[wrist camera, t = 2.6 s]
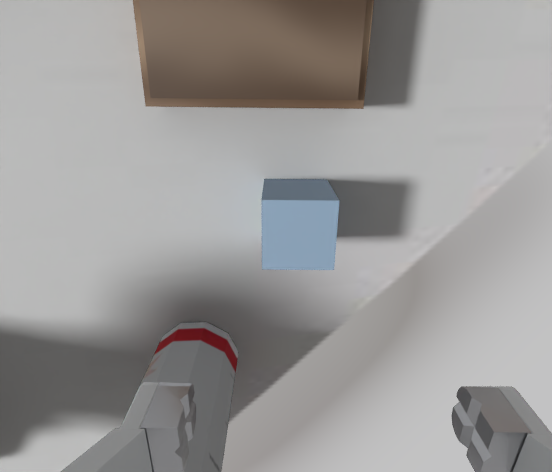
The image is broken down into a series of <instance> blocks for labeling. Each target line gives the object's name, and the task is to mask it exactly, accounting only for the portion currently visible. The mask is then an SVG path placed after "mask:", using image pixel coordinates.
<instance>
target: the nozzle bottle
mask: <svg viewBox="0 0 552 472" xmlns="http://www.w3.org/2000/svg"><path fill="white" fill-rule="evenodd" d="M237 359H238V351H237V349H236V347H235V345H234V343H233V341H232V339H231V337H230V335H229V334H228V333H227V332H225V331H223V330H221V329H219V328H217V327H215V326H213V325H211V324H209V323H207V322H193V323H180V324H179V325H177V326H176V327H175V328H173V329H172V330H171V331H169V332H168V333H166V334H165V335H164V336H163V337H162V339H161V341H160V343H159V345H158V347H157V350H156V352H155V354H154V356H153V358H152V360H151V362H150V365H149V367H148V369H147V371H146V373H145V375H144V377H143V380H142V382H141V384H140V386H141V385H142V383H143V382H157V383H160V382H166V383H192V384H193V385H194V392H195V393H194V397H193V402H194V403H195V404H196V424H195V430H194V434H193V438H192V439H191V440H190V441H189V442H188V445H189V455H188V459H187V463H186V467H185V470H184V472H221V469H222V463H223V456H224V449H225V442H226V435H227V429H228V422H229V415H230V408H231V401H232V394H233V387H234V380H235V373H236V366H237ZM140 386H139V387H140ZM138 389H139V388H138ZM137 391H138V390H137ZM135 396H136V395H135ZM134 398H135V397H134ZM133 400H134V399H133ZM132 402H133V401H132ZM131 404H132V403H131ZM130 406H131V405H130ZM126 415H127V414H126ZM125 417H126V416H125ZM124 419H125V418H124Z"/></svg>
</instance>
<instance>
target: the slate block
mask: <svg viewBox="0 0 552 472" xmlns="http://www.w3.org/2000/svg"><path fill="white" fill-rule="evenodd" d="M338 212H339V199H338V197H337V196H336V194H335V192H334V191H333V189H332V187H331V186H330V184H329V182H328V180H324V179H264V185H263V193H262V269H275V270H334V263H335V251H336V238H337V225H338Z"/></svg>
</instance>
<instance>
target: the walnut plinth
mask: <svg viewBox="0 0 552 472" xmlns="http://www.w3.org/2000/svg"><path fill="white" fill-rule="evenodd" d="M373 3H374V0H133V5H134V14H135V22H136V30H137V38H138V47H139V55H140V63H141V71H142V79H143V88H144V96H145V104H146V106H160V107H257V108H354V109H363V107H364V96H365V86H366V76H367V65H368V55H369V45H370V34H371V24H372V14H373Z"/></svg>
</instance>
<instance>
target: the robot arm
mask: <svg viewBox="0 0 552 472" xmlns="http://www.w3.org/2000/svg"><path fill="white" fill-rule="evenodd" d="M194 393H195V392H194V385H193V384H192V383H166V382H160V383H157V382H143V383H142V385H141V386H140V387H139V389H138V391H137V393H136V396H135V398H134V400H133V402H132V404H131V406H130V408H129V410H128V412H127V415H126V417H125V419H124V421H123V423H122V425H121V427H120V428H115V429H114V430H112V431H111V432H110V433H108V434H107V435H106V436H105V437H103V438H102V439H101V440H100V441H98V442H97V443H96V444H95V445H93V446H92V447H91V448H90V449H88V450H87V451H86V452H85V453H83V454H82V455H81V456H80V457H78V458H77V459H76V460H75V461H73V462H72V463H71V464H70V465H68V466H67V467H66V468H65V469H63V470H62V471H61V472H184V470H185V467H186V463H187V459H188V455H189V445H188V442H189V441H190V440H191V439H192V438H193V434H194V430H195V424H196V404H195V403H194V402H193V397H194ZM457 398H458V400H459V401H460V402H459V403H458V404H457V405H455V406H454V407H453V412H452V425H453V428H454V431H455V434H456V436H457V438H458V440H459V441H460V442H461V443H462V444H463V445H465V446H466V447H467V448H468V451H467V458H468V459H469V461H470V463H471V465H472V467H473V469H474V471H475V472H552V433H551V432H550V431H549V430H548V428H547V427H546V426H545V425H544V423H543V422H542V421H541V420H540V419H539V417H538V416H537V415H536V413H535V412H534V411H533V410H532V408H531V407H530V406H529V405H528V403H527V402H526V401H525V400H524V398H523V397H521V395H520V393H519V392H518V391H517V390H516V389H515V388H513V387H461V388H459V390H458V392H457Z"/></svg>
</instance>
